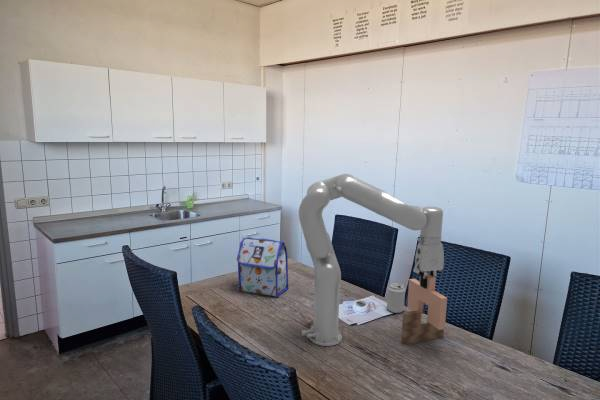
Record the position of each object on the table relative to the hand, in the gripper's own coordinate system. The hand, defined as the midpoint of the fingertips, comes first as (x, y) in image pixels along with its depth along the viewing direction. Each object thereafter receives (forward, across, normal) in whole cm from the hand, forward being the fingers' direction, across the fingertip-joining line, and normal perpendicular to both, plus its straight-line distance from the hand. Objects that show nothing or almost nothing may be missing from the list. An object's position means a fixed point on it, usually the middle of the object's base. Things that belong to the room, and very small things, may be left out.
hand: (427, 286), depth 153 cm
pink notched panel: (+13, 0, 0) cm, 13 cm away
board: (+22, 0, 0) cm, 22 cm away
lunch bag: (+22, -48, +65) cm, 84 cm away
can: (+22, +4, +26) cm, 34 cm away
